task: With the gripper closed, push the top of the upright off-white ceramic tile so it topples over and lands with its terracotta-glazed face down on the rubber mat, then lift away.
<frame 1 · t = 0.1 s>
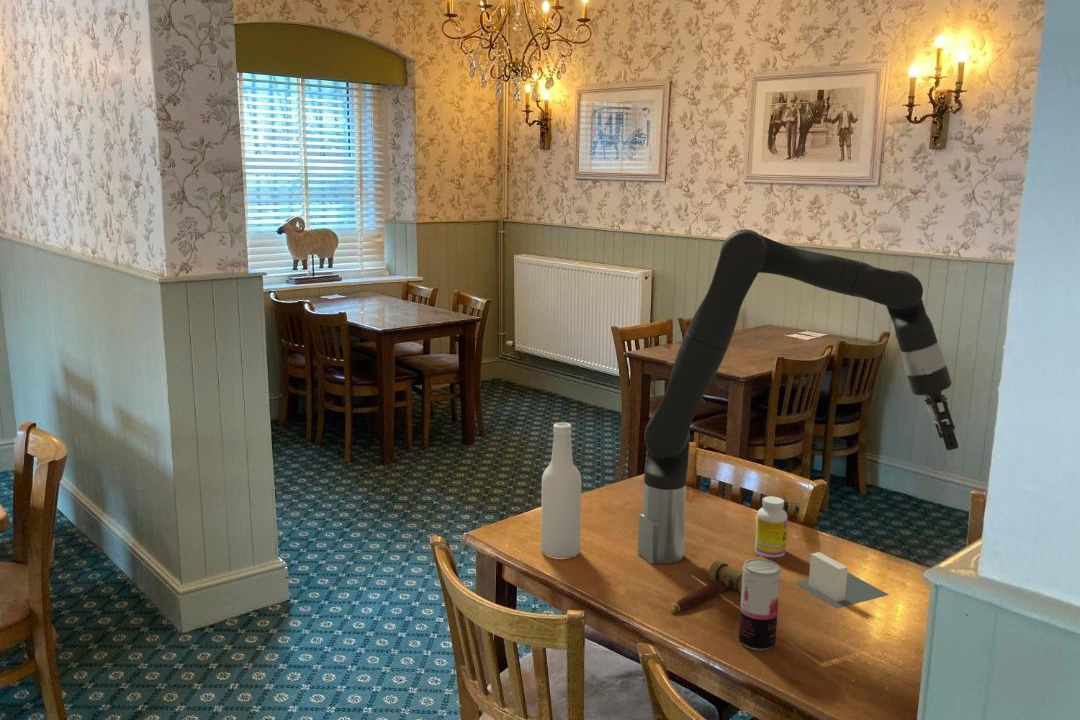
hand: (948, 442, 179), 31 cm above the table, tool tilted 20°, fingers open, 8 cm apart
beverage can: (756, 643, 162), on the table
mat: (840, 591, 183), on the table
alcohol: (560, 553, 200), on the table
gavel: (707, 601, 179), on the table
supplement bottle: (769, 554, 201), on the table
tile: (826, 592, 181), point 1 cm above the table, touching mat
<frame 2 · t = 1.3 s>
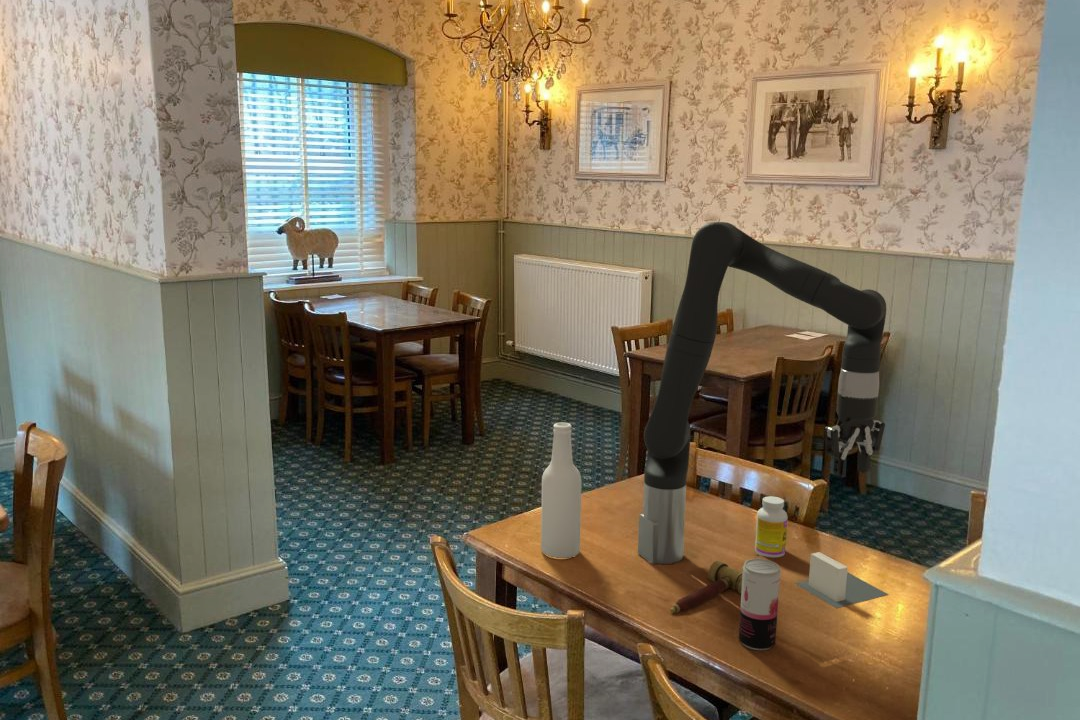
hand: (850, 473, 177), 25 cm above the table, tool pointing down, fingers open, 5 cm apart
nothing on the table moved.
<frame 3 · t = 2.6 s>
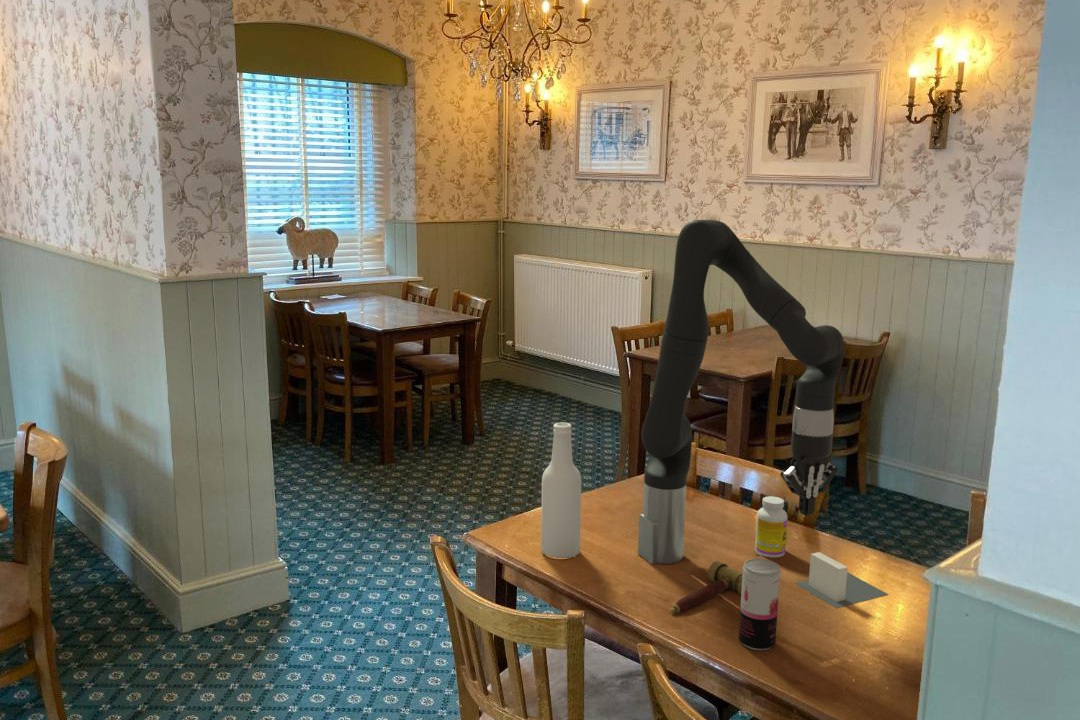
hand: (806, 514, 174), 19 cm above the table, tool pointing down, fingers closed
nothing on the table moved.
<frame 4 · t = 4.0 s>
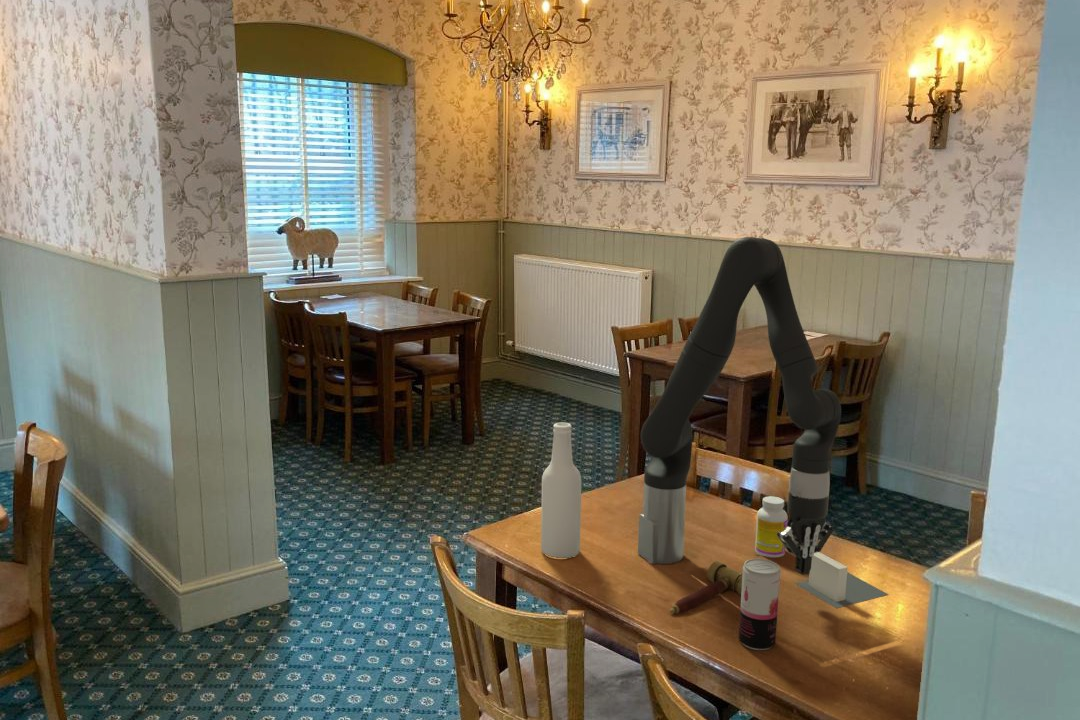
hand: (802, 572, 177), 6 cm above the table, tool pointing down, fingers closed
nothing on the table moved.
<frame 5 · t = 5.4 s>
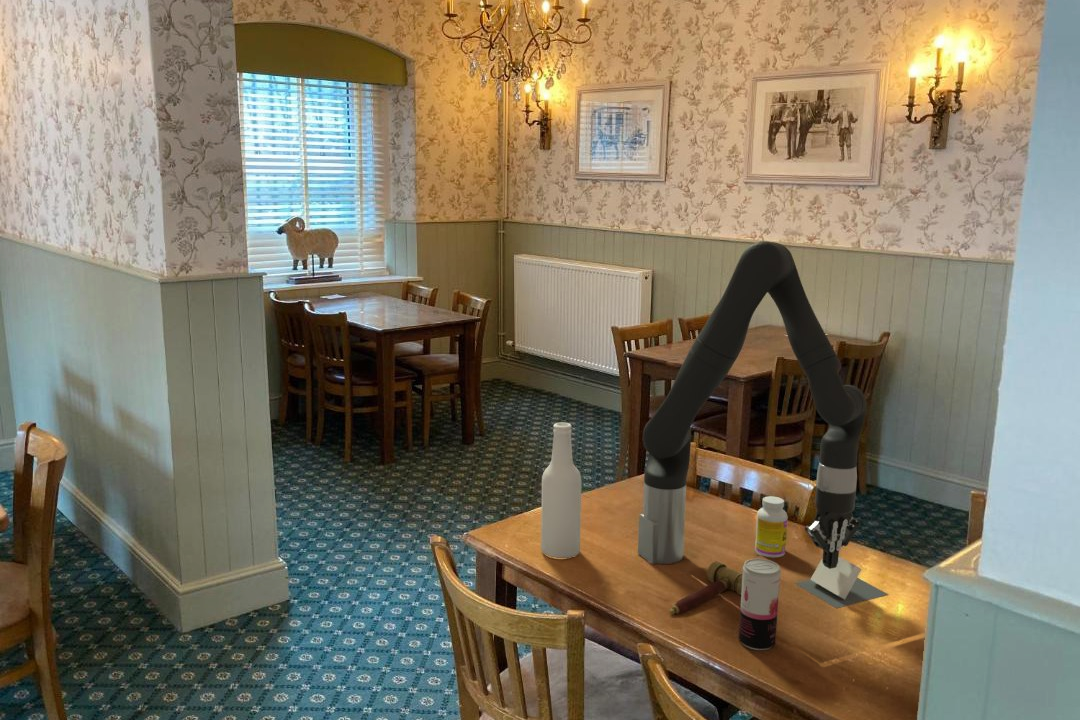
hand: (829, 566, 180), 6 cm above the table, tool pointing down, fingers closed
tile: (827, 589, 181), point 1 cm above the table, tilted 34°, touching mat
everything else where it was.
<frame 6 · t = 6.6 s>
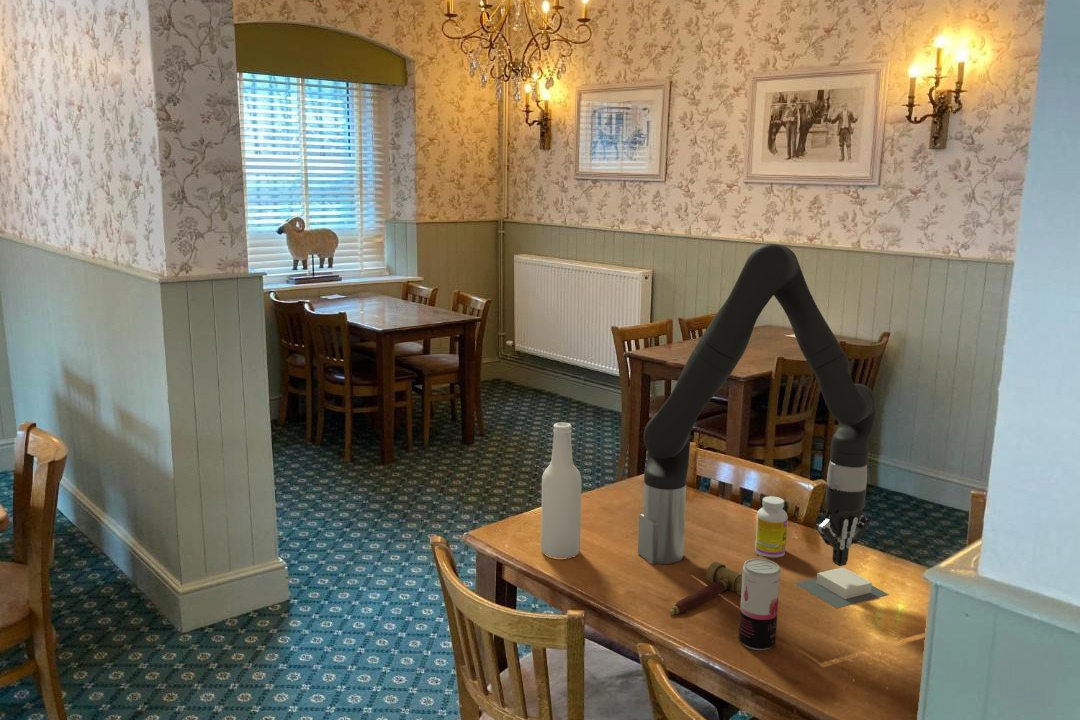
hand: (839, 564, 181), 6 cm above the table, tool pointing down, fingers closed
tile: (830, 585, 181), point 2 cm above the table, tilted 90°, touching mat
everything else where it was.
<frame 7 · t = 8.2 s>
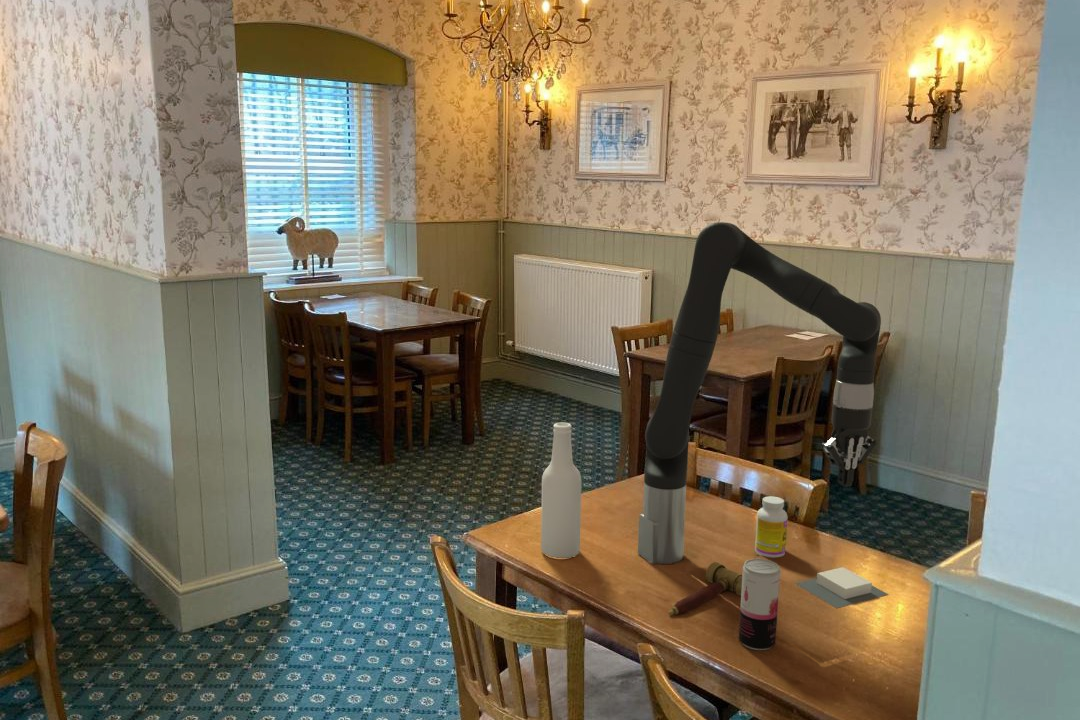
hand: (844, 485, 181), 22 cm above the table, tool pointing down, fingers closed
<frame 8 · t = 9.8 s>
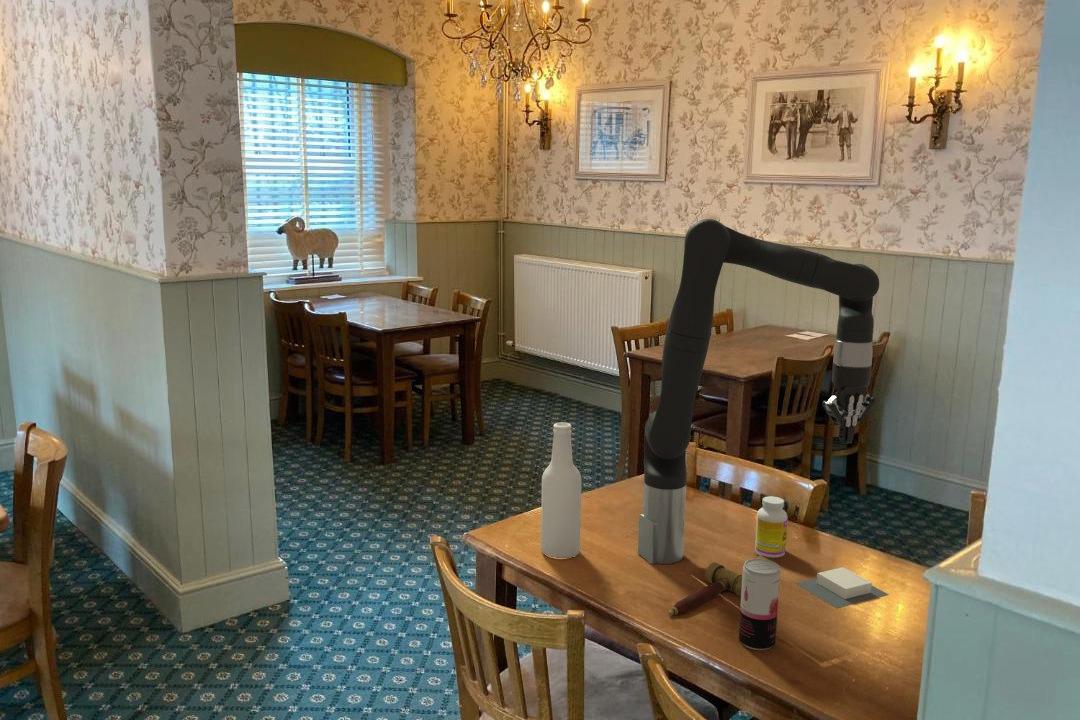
hand: (845, 442, 186), 29 cm above the table, tool pointing down, fingers closed
at the end: tile tilted 90°; tile inside the target area on the mat (3.4 cm from its centre), point 1.8 cm above the mat's base; tile touching mat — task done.
